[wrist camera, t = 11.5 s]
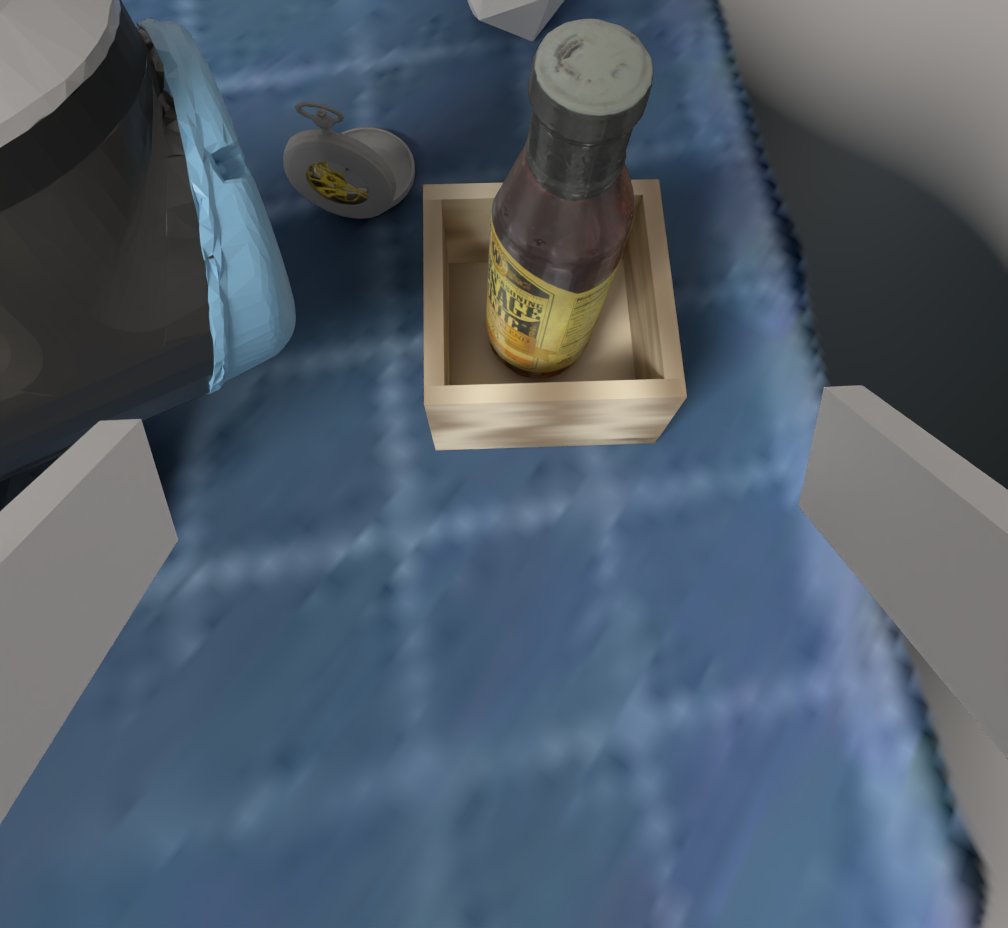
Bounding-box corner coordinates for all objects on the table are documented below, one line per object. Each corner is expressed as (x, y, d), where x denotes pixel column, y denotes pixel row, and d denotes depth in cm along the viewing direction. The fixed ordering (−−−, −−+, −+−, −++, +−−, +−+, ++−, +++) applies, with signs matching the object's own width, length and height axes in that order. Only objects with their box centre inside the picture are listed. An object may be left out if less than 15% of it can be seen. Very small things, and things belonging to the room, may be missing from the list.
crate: (435, 450, 40) (424, 404, 33) (433, 259, 44) (423, 184, 37) (654, 443, 40) (686, 396, 34) (633, 254, 44) (658, 179, 38)
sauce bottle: (470, 312, 42) (460, 5, 23) (563, 280, 43) (629, -42, 24) (511, 404, 40) (536, 155, 21) (607, 369, 41) (715, 99, 22)
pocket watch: (395, 126, 47) (371, -14, 38) (440, 221, 45) (426, 98, 35) (282, 163, 46) (226, 29, 37) (322, 263, 44) (274, 147, 34)
